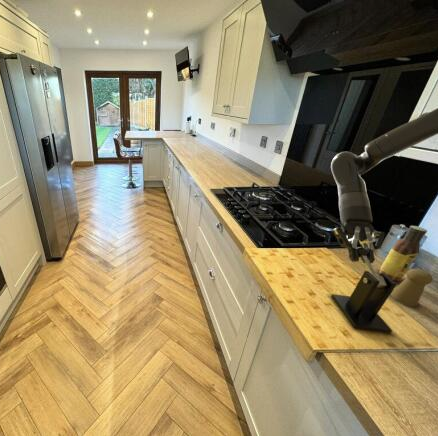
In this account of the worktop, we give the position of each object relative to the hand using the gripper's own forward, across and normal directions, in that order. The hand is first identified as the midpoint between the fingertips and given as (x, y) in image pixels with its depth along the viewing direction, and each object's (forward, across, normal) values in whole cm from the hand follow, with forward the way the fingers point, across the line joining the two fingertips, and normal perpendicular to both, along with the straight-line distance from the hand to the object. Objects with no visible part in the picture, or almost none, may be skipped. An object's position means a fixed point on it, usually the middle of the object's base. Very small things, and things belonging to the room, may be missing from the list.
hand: (362, 262), depth 70 cm
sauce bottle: (-1, +23, +20) cm, 31 cm away
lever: (+2, 0, -1) cm, 2 cm away
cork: (+8, +19, +11) cm, 23 cm away
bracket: (+15, 0, +4) cm, 15 cm away
